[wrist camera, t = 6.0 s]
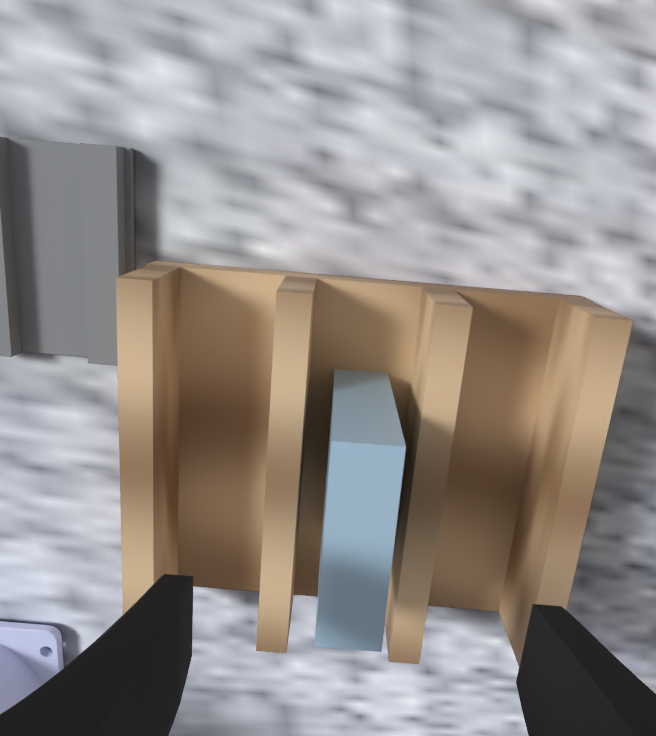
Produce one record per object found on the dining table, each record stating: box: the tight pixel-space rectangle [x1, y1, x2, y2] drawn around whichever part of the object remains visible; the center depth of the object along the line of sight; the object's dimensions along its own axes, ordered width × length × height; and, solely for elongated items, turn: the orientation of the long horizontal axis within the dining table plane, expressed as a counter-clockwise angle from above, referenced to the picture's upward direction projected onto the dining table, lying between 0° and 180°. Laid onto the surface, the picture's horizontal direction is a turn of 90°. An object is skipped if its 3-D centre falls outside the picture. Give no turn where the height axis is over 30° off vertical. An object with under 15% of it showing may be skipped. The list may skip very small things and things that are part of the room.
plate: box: [315, 369, 406, 652], centre depth 18 cm, size 6×2×6 cm, turn 176°
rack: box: [116, 261, 633, 667], centre depth 20 cm, size 12×14×4 cm
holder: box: [0, 137, 135, 366], centre depth 20 cm, size 7×5×1 cm
